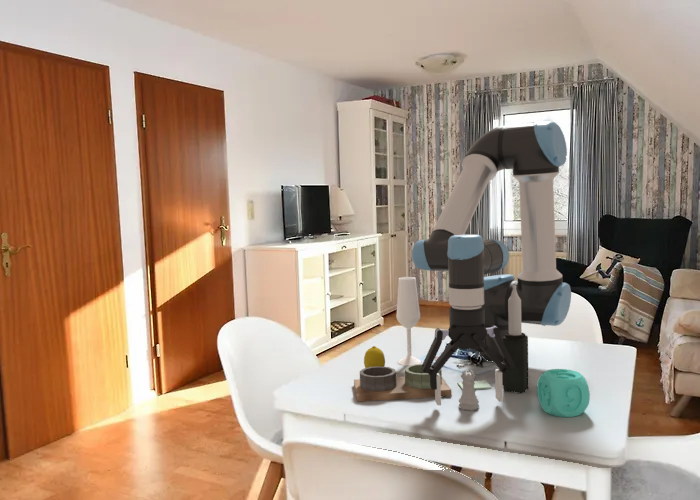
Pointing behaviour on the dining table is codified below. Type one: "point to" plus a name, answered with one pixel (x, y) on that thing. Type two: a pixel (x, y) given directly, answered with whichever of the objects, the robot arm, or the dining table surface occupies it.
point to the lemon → (374, 358)
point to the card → (477, 385)
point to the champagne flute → (408, 313)
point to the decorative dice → (563, 392)
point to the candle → (516, 347)
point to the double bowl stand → (396, 384)
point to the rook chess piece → (468, 392)
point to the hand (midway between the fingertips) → (468, 401)
